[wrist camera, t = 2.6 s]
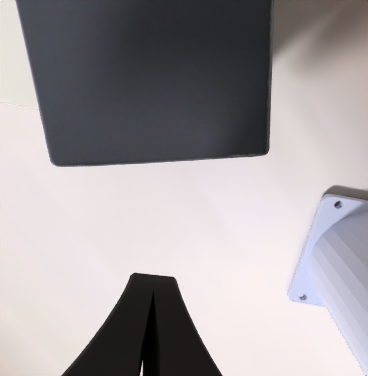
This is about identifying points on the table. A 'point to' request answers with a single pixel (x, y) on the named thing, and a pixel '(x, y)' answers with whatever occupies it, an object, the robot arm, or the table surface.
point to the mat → (14, 60)
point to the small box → (150, 78)
